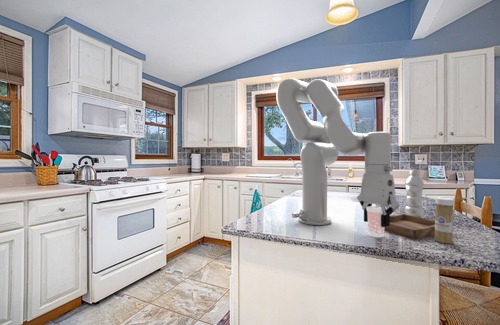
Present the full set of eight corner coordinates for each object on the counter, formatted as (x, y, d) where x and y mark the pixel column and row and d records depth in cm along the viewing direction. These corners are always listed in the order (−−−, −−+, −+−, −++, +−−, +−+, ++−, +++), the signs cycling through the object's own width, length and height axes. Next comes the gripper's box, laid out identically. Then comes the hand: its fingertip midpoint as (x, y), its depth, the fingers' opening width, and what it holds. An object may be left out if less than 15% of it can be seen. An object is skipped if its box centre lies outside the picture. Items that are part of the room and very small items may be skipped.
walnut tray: (413, 239, 79) (413, 230, 79) (371, 226, 94) (371, 218, 94) (448, 232, 86) (448, 223, 86) (403, 221, 101) (403, 213, 101)
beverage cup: (385, 239, 80) (386, 195, 79) (364, 236, 83) (365, 193, 82) (387, 234, 85) (387, 192, 84) (367, 231, 88) (367, 191, 88)
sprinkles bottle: (433, 241, 78) (434, 198, 77) (434, 237, 81) (436, 196, 81) (452, 245, 75) (454, 199, 74) (453, 241, 78) (454, 197, 78)
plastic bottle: (426, 220, 103) (427, 171, 102) (407, 219, 104) (409, 170, 103) (419, 216, 109) (420, 170, 108) (401, 215, 110) (402, 169, 110)
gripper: (410, 171, 77) (409, 229, 77) (364, 168, 93) (363, 216, 93) (393, 171, 74) (392, 232, 74) (348, 168, 90) (348, 218, 90)
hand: (376, 223), depth 84 cm, fingers closed on beverage cup, 6 cm apart
